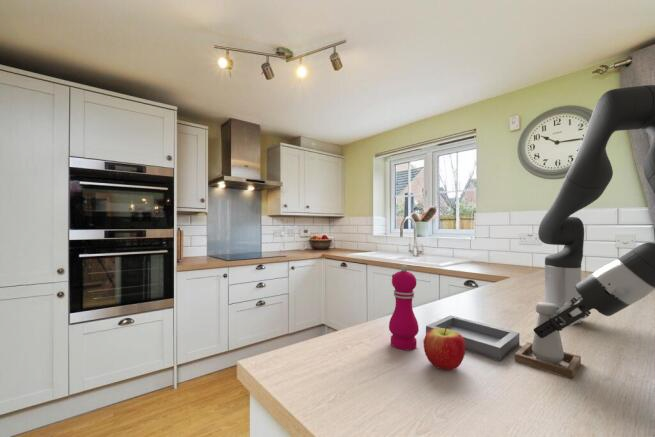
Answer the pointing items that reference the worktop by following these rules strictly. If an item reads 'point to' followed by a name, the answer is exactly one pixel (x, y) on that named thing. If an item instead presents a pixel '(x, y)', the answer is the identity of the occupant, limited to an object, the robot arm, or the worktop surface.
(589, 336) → the worktop surface
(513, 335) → the tray
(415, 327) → the pepper mill
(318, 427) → the worktop surface
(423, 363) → the worktop surface
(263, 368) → the worktop surface
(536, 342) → the salt shaker
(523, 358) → the wooden square frame
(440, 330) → the apple
